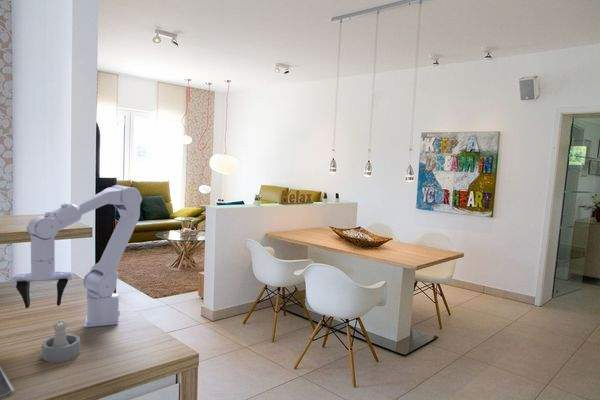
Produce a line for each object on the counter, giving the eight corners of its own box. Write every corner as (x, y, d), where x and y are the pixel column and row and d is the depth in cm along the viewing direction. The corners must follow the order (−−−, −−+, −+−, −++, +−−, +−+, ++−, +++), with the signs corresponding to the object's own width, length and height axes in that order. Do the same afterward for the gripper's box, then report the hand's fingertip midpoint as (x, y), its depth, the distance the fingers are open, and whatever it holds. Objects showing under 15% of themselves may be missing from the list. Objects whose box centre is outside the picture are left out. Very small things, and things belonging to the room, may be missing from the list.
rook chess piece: (60, 346, 114) (60, 318, 113) (73, 349, 113) (73, 321, 112) (46, 353, 110) (46, 324, 109) (59, 356, 108) (59, 327, 107)
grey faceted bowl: (81, 344, 117) (81, 332, 116) (78, 359, 109) (78, 346, 108) (45, 348, 113) (45, 336, 113) (39, 363, 105) (39, 350, 105)
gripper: (73, 254, 124) (73, 298, 125) (15, 256, 118) (16, 302, 120) (70, 260, 117) (71, 307, 119) (9, 263, 112) (10, 311, 113)
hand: (43, 305), depth 119 cm, fingers open, 7 cm apart
